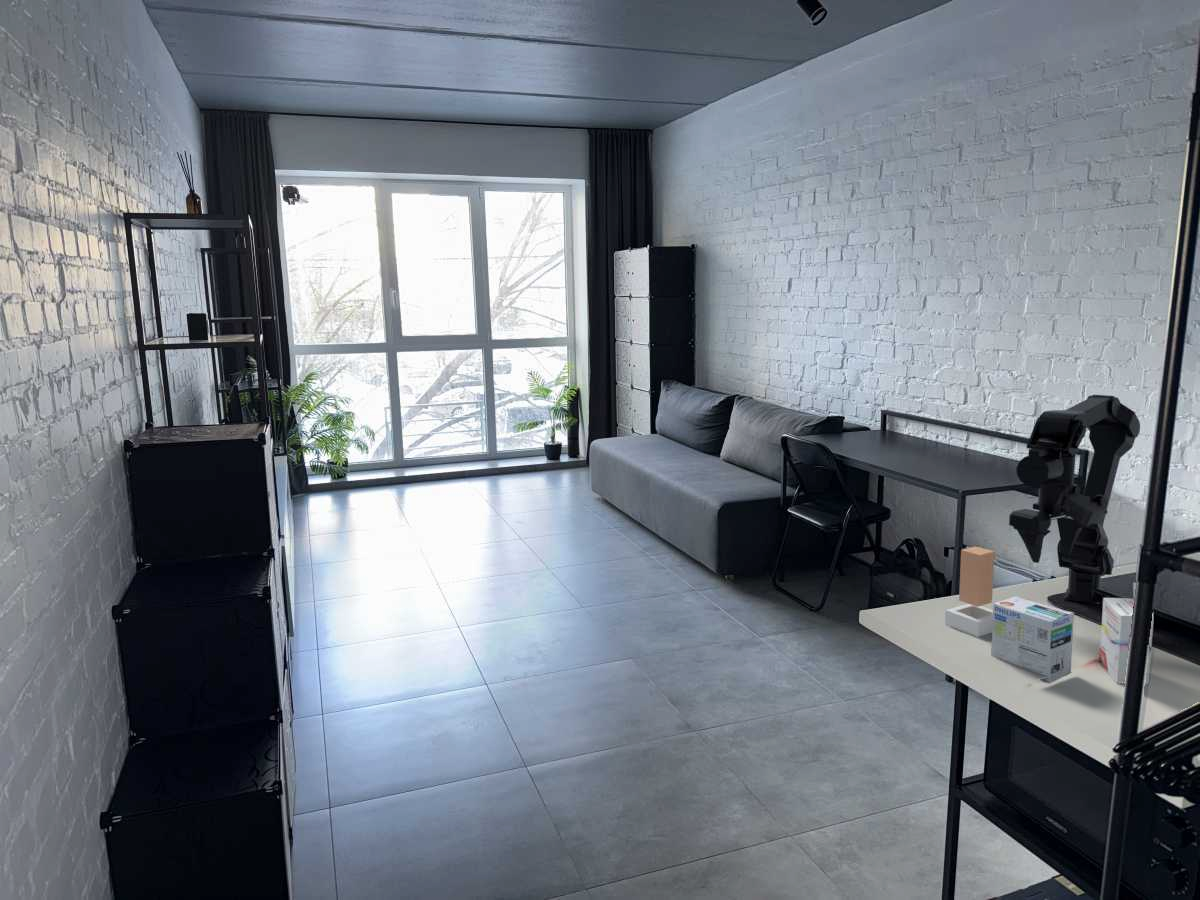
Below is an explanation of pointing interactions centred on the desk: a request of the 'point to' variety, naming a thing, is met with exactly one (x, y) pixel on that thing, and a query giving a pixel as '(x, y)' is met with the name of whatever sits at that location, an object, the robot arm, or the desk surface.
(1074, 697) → the desk surface
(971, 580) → the plug
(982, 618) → the white square socket
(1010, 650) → the light bulb box
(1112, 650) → the ink cartridge box
